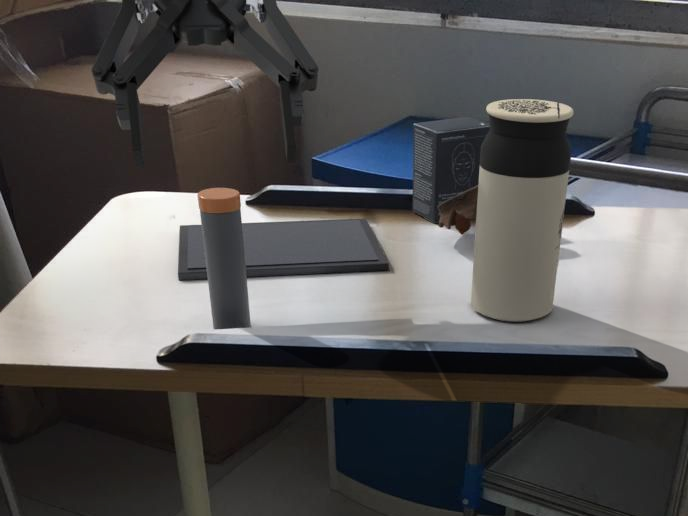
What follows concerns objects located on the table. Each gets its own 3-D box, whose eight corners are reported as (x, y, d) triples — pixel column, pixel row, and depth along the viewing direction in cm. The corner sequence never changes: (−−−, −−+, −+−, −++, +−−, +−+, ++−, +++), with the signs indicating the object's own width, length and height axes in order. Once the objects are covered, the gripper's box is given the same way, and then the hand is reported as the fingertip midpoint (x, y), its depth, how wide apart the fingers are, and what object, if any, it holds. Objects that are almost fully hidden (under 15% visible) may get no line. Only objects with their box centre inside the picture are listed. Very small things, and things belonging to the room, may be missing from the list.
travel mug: (462, 318, 84) (475, 112, 74) (479, 289, 91) (493, 95, 80) (545, 328, 83) (570, 119, 72) (557, 298, 89) (581, 101, 78)
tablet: (178, 280, 91) (177, 272, 90) (180, 232, 104) (179, 224, 103) (389, 270, 95) (389, 262, 94) (366, 224, 107) (366, 217, 107)
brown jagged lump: (481, 270, 96) (451, 197, 94) (445, 282, 105) (416, 214, 103) (567, 226, 100) (540, 154, 97) (525, 241, 108) (499, 174, 106)
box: (462, 204, 115) (467, 115, 109) (487, 216, 111) (493, 124, 105) (410, 212, 112) (412, 121, 105) (433, 224, 108) (437, 131, 102)
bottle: (213, 336, 80) (197, 199, 73) (212, 321, 83) (197, 188, 76) (252, 334, 81) (240, 198, 73) (250, 319, 83) (238, 186, 76)
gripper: (324, -20, 89) (348, 175, 86) (65, -21, 85) (81, 184, 82) (329, -83, 82) (356, 128, 79) (46, -88, 78) (63, 135, 75)
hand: (216, 157), depth 80 cm, fingers open, 13 cm apart
